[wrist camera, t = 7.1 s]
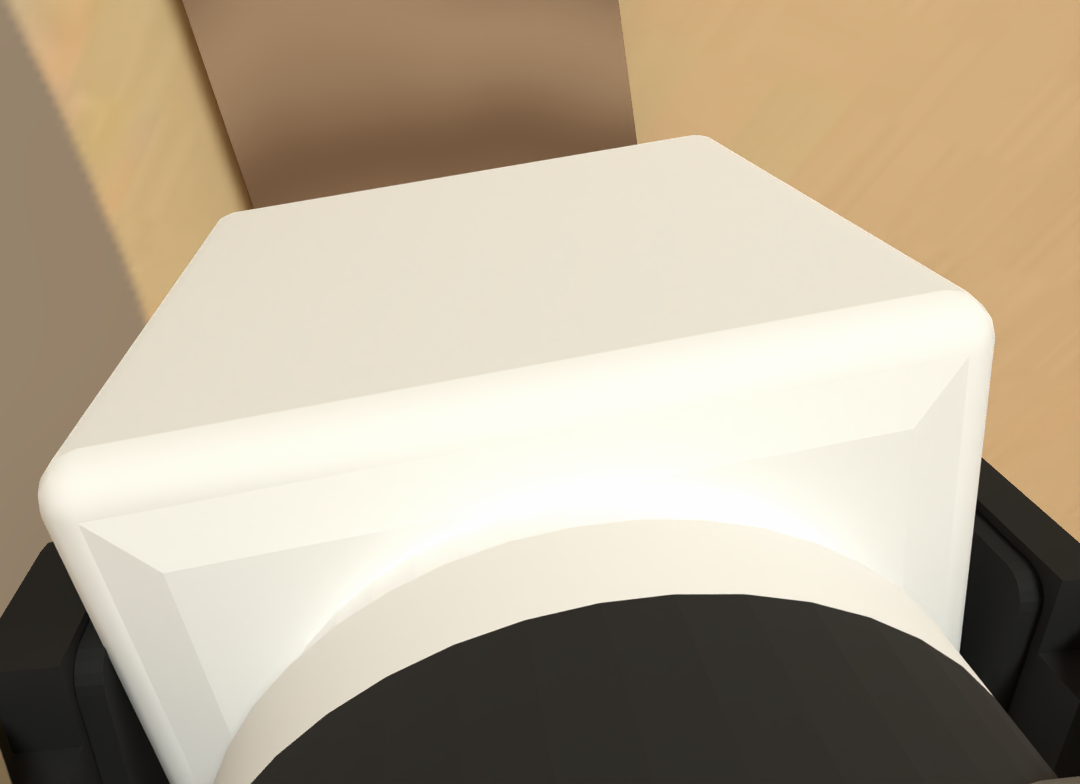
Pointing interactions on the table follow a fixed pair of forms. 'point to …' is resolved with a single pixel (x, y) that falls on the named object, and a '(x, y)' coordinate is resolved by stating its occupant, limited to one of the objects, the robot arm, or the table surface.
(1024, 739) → the medicine bottle
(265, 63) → the walnut board
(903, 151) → the table surface
